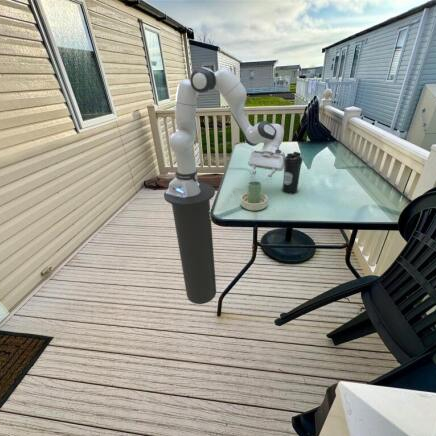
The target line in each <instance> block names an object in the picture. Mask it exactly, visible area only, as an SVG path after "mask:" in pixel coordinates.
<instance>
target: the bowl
mask: <svg viewBox="0 0 436 436" xmlns="http://www.w3.org/2000/svg"><path fill="white" fill-rule="evenodd" d="M240 205H241V207H242V208H243V209H245V210H248V211H254V212H256V211H261V210H263V209H265V208H267V206H268V196H267V195H266V194H264V193H262V192H261V196H260V203H256V204H253V203H248V192H245V193H244V194H242V195H241V196H240Z"/></svg>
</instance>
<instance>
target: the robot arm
mask: <svg viewBox="0 0 436 436" xmlns="http://www.w3.org/2000/svg"><path fill="white" fill-rule="evenodd" d="M191 72H192V73H191V75H190V78H184V79H181V80H179V82H178V85H177V89H176V93H175V94H176V95H175V107H174V119H175V122H176V130H175V132H173V134H171V136H170V138H169V141H168V143H169V147H170V150H172V152H173V154H174V157H175V160H176V166H177V171H175V173H174V176H175V177H174V178H173V179H172V180H170V182H169V184H168V188H167V189H166V190H165V191H166V194H167V195H171V196H176V197H180V198H187V197H191V196H195V195H198V194H199V193H200V192H201V190H200V188H199V183H198V182H199V181H198V180H199V179H198V170H197V165H196V158H195V156H194V153H193V150H192V146H193V144H194V143H195V141H196V139H197V135H196V116H197V115H196V114H197V104H198V96H199V94H205V93H208V92H211V90H216V91H218V93H219V94H220V95H221V96H222V97H223V99H224V101H225V102H226V104H227V106H228V108H229V112H230V115H231V116H232V117H233V120H234V122H235V123H236V124H237V127H238V128H239V129H240V131H241V133H242V135H243V138H244V141H245V143H246V144H248V145H249V146H251V147H255V146H258V145H259V144H260V143H263V146H262V149H261V150H259V151H258V150H254V151H252V152H251V153H250V155H249V157H248V160H247V164H248V166H249V167H251V168H252V172H251V174H252V175H256V174H257V171H256V169H257V168H259V169H264V170H271V172H268V175H267V176H268V178H272V177H273V175H274V174H275V173H276V172H282V171H284V164H285V161H284V159H285V157H286V155H285V152H284V151H283V150H281V149H280V146H281V145H282V142H283V139H284V135H285V129H284V126H282V125H281V124H279V123H270V122H268V121H267V120H261V121H260V122H258V123H256V124H255V125H251V123H250V121H249V119H248V118H247V115H246V114H245V111H244V110H245V109H244V108H245V105H246V102H247V97H248V96H247V95H248V93H247V90H246V88H245V86H244V85H243V84H242V82H241V80H240V79H239V78H238V77H237V75H235V73H234V72H233V71H232V70H231V69H230V68H229V67H227V66H222V67H220V68H219V69H217V70H216V71H214V70H213V69H212V68H210V67H206V66H200V67H197V68H195V69H194V70H193V71H191Z"/></svg>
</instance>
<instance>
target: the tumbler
mask: <svg viewBox="0 0 436 436" xmlns="http://www.w3.org/2000/svg"><path fill="white" fill-rule="evenodd" d="M247 193H248V203H253V204H256V203H260V196H261V193H262V183H261V182H260V181H258V180H257V181H256V180H252V181H249V182H248V185H247Z"/></svg>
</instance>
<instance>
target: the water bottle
mask: <svg viewBox="0 0 436 436" xmlns="http://www.w3.org/2000/svg"><path fill="white" fill-rule="evenodd" d="M301 155H302V154H301V152H299V151H294V152H293V153H292V152H291V153H289V152H288V153H287V154H286V155H285V159H284V161H285V164H284V168H283V179H282V180H283V181H282V192H283V193H285V194H288V195H289V194H290V195H291V194H292V195H293V194H296V193H297V192H298V187H299V180H300V174H301V168H302V163H303V160H304V159H303V157H302V156H301Z"/></svg>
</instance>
